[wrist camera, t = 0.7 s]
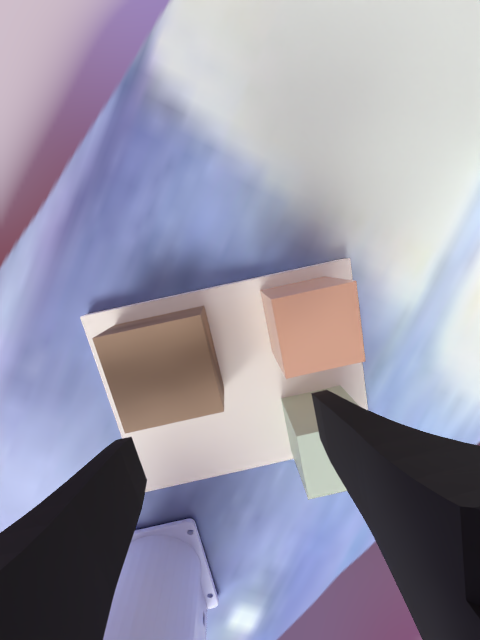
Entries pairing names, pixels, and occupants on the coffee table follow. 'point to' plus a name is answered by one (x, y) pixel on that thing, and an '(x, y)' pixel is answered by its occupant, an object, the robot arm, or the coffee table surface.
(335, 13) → the coffee table surface
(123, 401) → the walnut block
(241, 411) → the cream board
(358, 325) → the terracotta block
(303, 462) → the sage block
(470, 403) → the coffee table surface
